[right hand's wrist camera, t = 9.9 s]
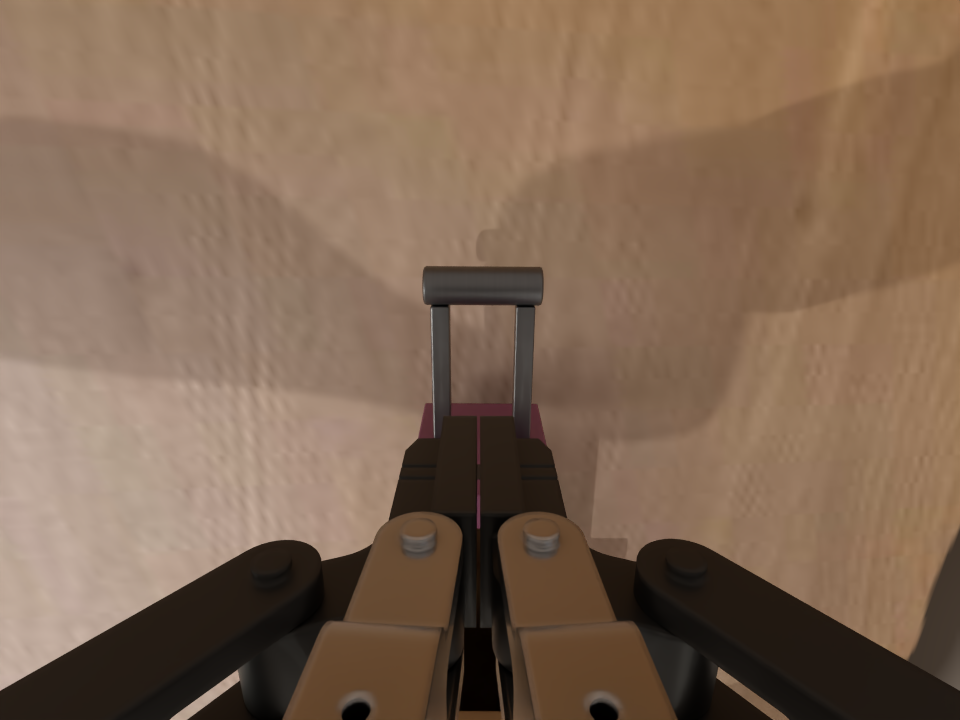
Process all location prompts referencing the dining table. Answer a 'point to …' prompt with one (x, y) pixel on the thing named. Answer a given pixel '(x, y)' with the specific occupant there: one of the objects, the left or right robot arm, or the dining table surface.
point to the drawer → (482, 412)
